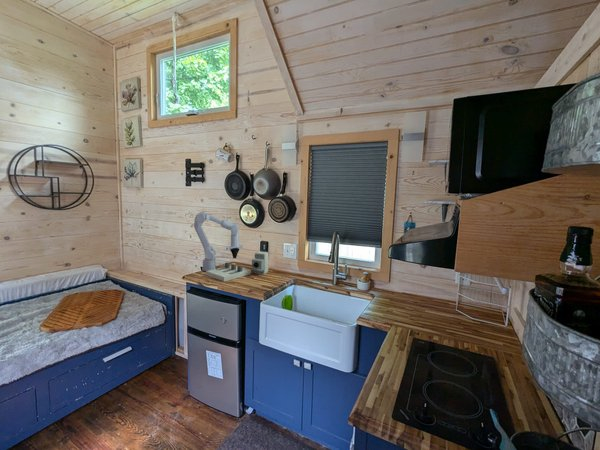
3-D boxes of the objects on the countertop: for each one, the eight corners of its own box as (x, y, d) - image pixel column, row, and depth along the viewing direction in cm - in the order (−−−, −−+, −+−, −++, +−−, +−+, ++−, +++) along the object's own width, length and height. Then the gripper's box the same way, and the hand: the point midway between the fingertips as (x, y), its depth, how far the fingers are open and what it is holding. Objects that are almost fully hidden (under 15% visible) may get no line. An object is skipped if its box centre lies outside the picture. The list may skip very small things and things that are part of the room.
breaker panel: (206, 275, 202) (206, 266, 202) (233, 268, 221) (233, 260, 220) (224, 281, 190) (224, 271, 189) (251, 273, 209) (251, 265, 208)
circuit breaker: (250, 275, 205) (251, 255, 203) (259, 270, 218) (259, 251, 217) (260, 276, 203) (260, 256, 201) (268, 271, 216) (268, 252, 214)
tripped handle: (231, 268, 209) (231, 263, 208) (233, 268, 210) (233, 262, 210) (233, 269, 207) (233, 264, 206) (235, 269, 208) (235, 263, 208)
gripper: (230, 242, 206) (230, 260, 208) (245, 239, 218) (245, 257, 219) (224, 240, 211) (224, 258, 212) (239, 238, 222) (239, 255, 224)
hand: (234, 258), depth 216 cm, fingers closed
